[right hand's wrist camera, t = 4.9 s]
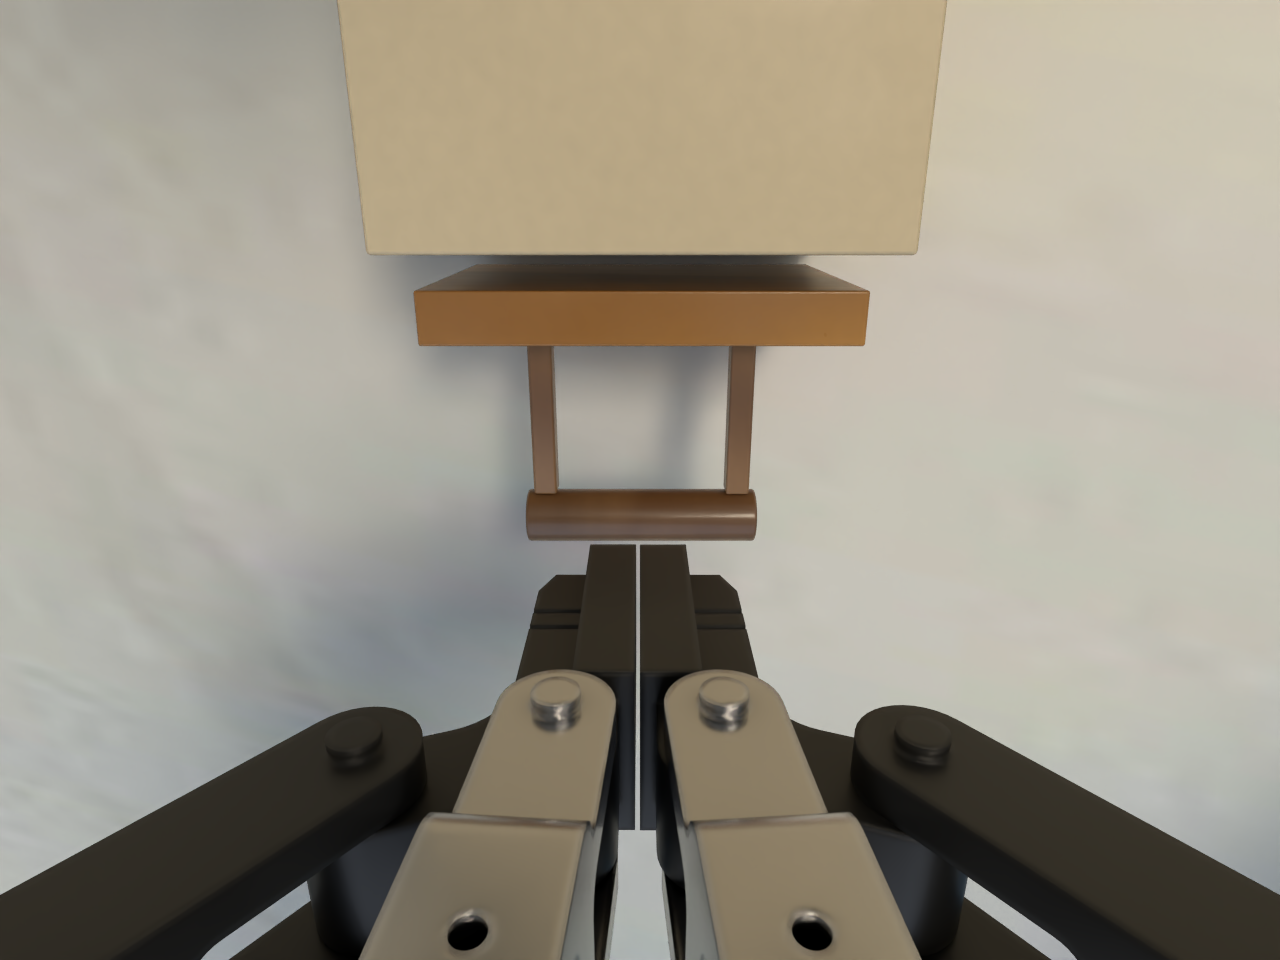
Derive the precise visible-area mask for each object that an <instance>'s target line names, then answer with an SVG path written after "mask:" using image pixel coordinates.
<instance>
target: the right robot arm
mask: <svg viewBox="0 0 1280 960" xmlns="http://www.w3.org/2000/svg"><path fill="white" fill-rule="evenodd" d="M635 748H636V544H591V545H590V550H589V557H588V564H587V571H586V575H556V576H555V577H554V578H552V579H551V580H550V581H549V582H548V583H547V584H546V585H545V586H544V587H543V588H542V589H540V590H539V592H538V596H537V600H536V604H535V608H534V613H533V616H532V620H531V624H530V629H529V631H528V635H527V639H526V643H525V647H524V651H523V655H522V659H521V663H520V666H519V670H518V674H517V678H516V682H514V683H512V684H511V685H510V686H509V687H507V688H506V689H505V690H504V691H503V693H502V694H501V695H500V697H499V699H498V701H497V703H496V705H495V708H494V710H493V713H492V715H490V716H488V717H487V718H485V719H483V720H481V721H479V722H477V723H474V724H472V725H469V726H466V727H463V728H459V729H456V730H452V731H447V732H442V733H438V734H433V735H429V736H424V737H423V735H422V730H421V727H420V725H419V723H418V722H417V721H416V719H414V718H413V717H412V716H411V715H409V714H407V713H405V712H403V711H400V710H397V709H393V708H387V707H364V708H358V709H352V710H348V711H345V712H341V713H338V714H336V715H333V716H330V717H328V718H326V719H324V720H322V721H320V722H318V723H316V724H314V725H312V726H311V727H309V728H307V729H305V730H303V731H301V732H299V733H298V734H296V735H294V736H292V737H290V738H288V739H287V740H285V741H283V742H281V743H279V744H277V745H276V746H274V747H272V748H270V749H268V750H266V751H265V752H263V753H261V754H259V755H257V756H255V757H253V758H252V759H250V760H248V761H246V762H244V763H242V764H241V765H239V766H237V767H235V768H233V769H231V770H230V771H228V772H226V773H224V774H222V775H220V776H218V777H217V778H215V779H213V780H211V781H209V782H207V783H206V784H204V785H202V786H200V787H198V788H196V789H195V790H193V791H191V792H189V793H187V794H185V795H184V796H182V797H180V798H178V799H176V800H174V801H172V802H171V803H169V804H167V805H165V806H163V807H161V808H160V809H158V810H156V811H154V812H152V813H150V814H149V815H147V816H145V817H143V818H141V819H139V820H137V821H136V822H134V823H132V824H130V825H128V826H126V827H125V828H123V829H121V830H119V831H117V832H115V833H114V834H112V835H110V836H108V837H106V838H104V839H103V840H101V841H99V842H97V843H95V844H93V845H91V846H90V847H88V848H86V849H84V850H82V851H80V852H79V853H77V854H75V855H73V856H71V857H69V858H68V859H66V860H64V861H62V862H60V863H58V864H56V865H55V866H53V867H51V868H49V869H47V870H45V871H44V872H42V873H40V874H38V875H36V876H34V877H33V878H31V879H29V880H27V881H25V882H23V883H22V884H20V885H18V886H16V887H14V888H12V889H10V890H9V891H7V892H5V893H3V894H1V895H0V960H201V959H202V957H203V956H204V955H205V954H206V953H207V952H208V951H209V950H210V949H211V948H212V947H213V946H214V945H216V944H217V943H218V942H220V941H221V940H222V939H224V938H225V937H227V936H228V935H229V934H231V933H232V932H234V931H235V930H237V929H238V928H239V927H241V926H242V925H244V924H245V923H247V922H248V921H249V920H251V919H252V918H254V917H255V916H257V915H258V914H259V913H261V912H262V911H264V910H265V909H267V908H268V907H269V906H271V905H272V904H274V903H275V902H277V901H278V900H280V899H281V898H282V897H284V896H285V895H287V894H288V893H290V892H291V891H292V890H294V889H295V888H297V887H298V886H300V885H301V884H302V883H304V882H305V881H307V884H308V889H309V894H310V899H311V901H310V902H308V903H307V904H305V905H304V906H303V907H301V908H300V909H298V910H297V911H296V912H294V913H293V914H292V915H290V916H289V917H287V918H286V919H285V920H283V921H282V922H280V923H279V924H278V925H276V926H275V927H273V928H272V929H271V930H269V931H268V932H267V933H265V934H264V935H262V936H261V937H260V938H258V939H257V940H255V941H254V942H253V943H251V944H250V945H249V946H247V947H246V948H244V949H243V950H242V951H240V952H239V953H237V954H236V955H235V956H233V957H232V958H231V959H229V960H609V958H610V950H611V942H612V934H613V925H614V917H615V909H616V901H617V893H618V830H635ZM640 830H656V842H657V856H658V860H659V863H660V866H661V868H662V893H663V901H664V909H665V917H666V925H667V934H668V942H669V950H670V958H671V960H1051V959H1049V958H1048V957H1047V956H1045V955H1044V954H1043V953H1041V952H1040V951H1038V950H1037V949H1036V948H1034V947H1033V946H1031V945H1030V944H1029V943H1027V942H1026V941H1024V940H1023V939H1022V938H1020V937H1019V936H1018V935H1016V934H1015V933H1013V932H1012V931H1011V930H1009V929H1008V928H1006V927H1005V926H1004V925H1002V924H1001V923H1000V922H998V921H997V920H995V919H994V918H993V917H991V916H990V915H988V914H987V913H986V912H984V911H983V910H982V909H980V908H979V907H977V906H976V905H975V904H973V903H972V902H970V901H969V900H968V899H966V898H965V897H964V894H965V889H966V884H967V879H968V877H969V878H970V879H972V880H973V881H975V882H976V883H978V884H979V885H980V886H982V887H983V888H985V889H986V890H988V891H989V892H990V893H992V894H993V895H995V896H996V897H998V898H999V899H1000V900H1002V901H1003V902H1005V903H1006V904H1008V905H1009V906H1010V907H1012V908H1013V909H1015V910H1016V911H1018V912H1019V913H1021V914H1022V915H1023V916H1025V917H1026V918H1028V919H1029V920H1031V921H1032V922H1033V923H1035V924H1036V925H1038V926H1039V927H1041V928H1042V929H1043V930H1045V931H1046V932H1048V933H1049V934H1051V935H1052V936H1053V937H1055V938H1056V939H1057V940H1059V941H1060V942H1061V943H1062V944H1063V945H1064V946H1066V947H1067V948H1068V949H1069V950H1070V952H1071V953H1072V954H1073V955H1074V956H1075V957H1076V959H1077V960H1280V895H1279V894H1277V893H1275V892H1273V891H1271V890H1270V889H1268V888H1266V887H1264V886H1262V885H1260V884H1258V883H1257V882H1255V881H1253V880H1251V879H1249V878H1247V877H1246V876H1244V875H1242V874H1240V873H1238V872H1236V871H1235V870H1233V869H1231V868H1229V867H1227V866H1225V865H1223V864H1222V863H1220V862H1218V861H1216V860H1214V859H1212V858H1211V857H1209V856H1207V855H1205V854H1203V853H1201V852H1200V851H1198V850H1196V849H1194V848H1192V847H1190V846H1189V845H1187V844H1185V843H1183V842H1181V841H1179V840H1177V839H1176V838H1174V837H1172V836H1170V835H1168V834H1166V833H1165V832H1163V831H1161V830H1159V829H1157V828H1155V827H1154V826H1152V825H1150V824H1148V823H1146V822H1144V821H1142V820H1141V819H1139V818H1137V817H1135V816H1133V815H1131V814H1130V813H1128V812H1126V811H1124V810H1122V809H1120V808H1119V807H1117V806H1115V805H1113V804H1111V803H1109V802H1108V801H1106V800H1104V799H1102V798H1100V797H1098V796H1096V795H1095V794H1093V793H1091V792H1089V791H1087V790H1085V789H1084V788H1082V787H1080V786H1078V785H1076V784H1074V783H1073V782H1071V781H1069V780H1067V779H1065V778H1063V777H1061V776H1060V775H1058V774H1056V773H1054V772H1052V771H1050V770H1049V769H1047V768H1045V767H1043V766H1041V765H1039V764H1038V763H1036V762H1034V761H1032V760H1030V759H1028V758H1027V757H1025V756H1023V755H1021V754H1019V753H1017V752H1015V751H1014V750H1012V749H1010V748H1008V747H1006V746H1004V745H1003V744H1001V743H999V742H997V741H995V740H993V739H992V738H990V737H988V736H986V735H984V734H982V733H980V732H979V731H977V730H975V729H973V728H971V727H969V726H968V725H966V724H964V723H962V722H960V721H958V720H956V719H954V718H952V717H950V716H948V715H946V714H943V713H940V712H938V711H935V710H931V709H927V708H923V707H917V706H907V705H893V706H886V707H881V708H878V709H875V710H873V711H871V712H869V713H867V714H866V715H864V716H863V717H862V718H861V719H860V721H859V722H858V723H857V726H856V728H855V735H854V737H849V736H844V735H840V734H835V733H831V732H826V731H821V730H818V729H814V728H810V727H807V726H805V725H802V724H799V723H797V722H795V721H793V720H791V719H790V718H789V715H788V713H787V710H786V708H785V705H784V703H783V701H782V699H781V697H780V695H779V694H778V693H777V691H776V690H775V689H774V688H773V687H771V686H770V685H769V684H768V683H766V682H764V681H763V680H761V679H759V678H758V675H757V671H756V666H755V662H754V658H753V654H752V650H751V646H750V642H749V638H748V634H747V630H746V629H745V622H744V618H743V614H742V610H741V605H740V601H739V597H738V593H737V591H736V590H735V589H734V588H733V587H732V586H731V585H730V584H729V583H728V582H727V581H726V580H724V579H723V578H722V577H721V576H720V575H690V574H689V566H688V559H687V551H686V545H640Z"/></svg>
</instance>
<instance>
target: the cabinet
mask: <svg viewBox="0 0 1280 960" xmlns="http://www.w3.org/2000/svg"><path fill="white" fill-rule="evenodd" d="M337 5H338V14H339V22H340V31H341V39H342V48H343V56H344V65H345V74H346V82H347V91H348V99H349V108H350V116H351V125H352V133H353V142H354V150H355V159H356V168H357V176H358V185H359V193H360V202H361V210H362V219H363V227H364V236H365V245H366V251H367V253H368V254H370V255H914V254H916V253H917V250H918V242H919V233H920V225H921V216H922V208H923V200H924V191H925V183H926V174H927V166H928V157H929V149H930V140H931V132H932V124H933V115H934V107H935V98H936V90H937V81H938V73H939V64H940V56H941V48H942V39H943V31H944V22H945V14H946V5H947V0H337Z"/></svg>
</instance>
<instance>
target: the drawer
mask: <svg viewBox="0 0 1280 960" xmlns="http://www.w3.org/2000/svg"><path fill="white" fill-rule="evenodd" d="M869 297H870V292H869V291H868V290H865V289H863V288H860V287H858V286H856V285H853V284H851V283H849V282H846V281H844V280H841V279H839V278H837V277H834V276H832V275H829V274H827V273H825V272H822V271H820V270H817V269H815V268H813V267H810V266H808V265H806V264H477V265H475V266H472V267H470V268H468V269H465V270H463V271H461V272H458V273H456V274H454V275H451V276H449V277H446V278H444V279H442V280H439V281H437V282H435V283H432V284H430V285H428V286H425V287H423V288H421V289H418V290H416V291H414V303H415V313H416V323H417V333H418V344H419V345H420V346H527V354H528V374H529V394H530V414H531V433H532V453H533V473H534V489H531V490H529V492H528V495H527V502H526V529H527V535H528V538H529V540H531V541H752V540H754V538H755V535H756V528H757V504H756V496H755V493H754V490H752V489H749V473H750V454H751V434H752V415H753V396H754V376H755V357H756V346H864V344H865V337H866V327H867V317H868V307H869ZM554 346H729V364H728V389H727V414H726V440H725V465H724V488H725V489H558V487H559V471H558V445H557V419H556V393H555V367H554Z"/></svg>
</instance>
